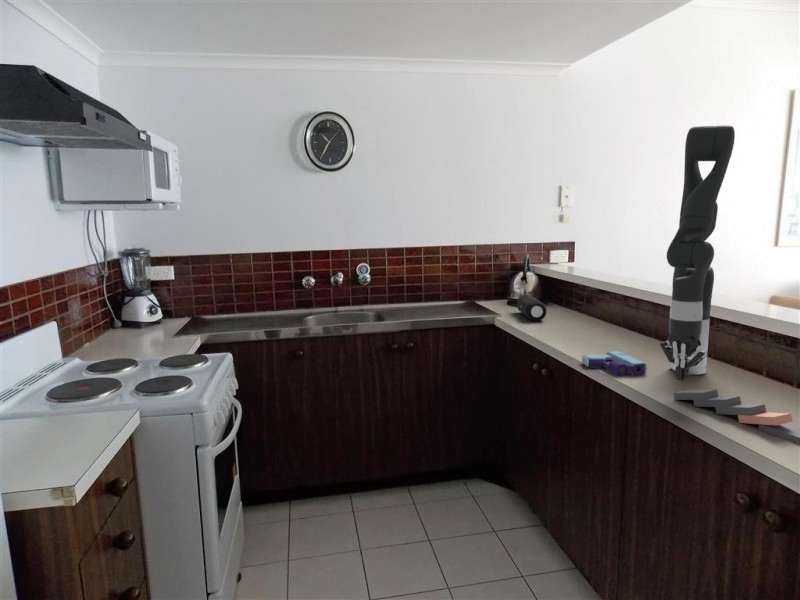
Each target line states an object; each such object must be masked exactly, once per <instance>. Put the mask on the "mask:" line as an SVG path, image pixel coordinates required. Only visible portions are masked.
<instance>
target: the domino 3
mask: <svg viewBox="0 0 800 600" xmlns="http://www.w3.org/2000/svg"><path fill="white" fill-rule="evenodd" d="M714 409H715V412H716V415H730V416H731V415H732V416H738V415H751V416H752V415H756V414H760V413H765V412H767V408H766V404H765V403H762V404H760V403H759V404H758V403H742V404H738V405H734V406H730V407H714Z"/></svg>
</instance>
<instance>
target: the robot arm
mask: <svg viewBox="0 0 800 600" xmlns="http://www.w3.org/2000/svg"><path fill="white" fill-rule="evenodd" d="M687 131H688V132H687V134H686V139H685V144H684V145H685V146H684V149H685V150H684V170H683V171H684V173H683V175H684V177H683V187H682V188H683V190H682V196H681V197H682V198H681V205H680V212H679V220H678V221H679V224H678V225H679V226H678V229H677V231H676V233H675V235H674V237H673V239H672V240H671V242H670V244H669V246H668V249H667V251H666V260H667V263H668V265H669V266H671V267H673V268H674V270H673V276H672V290H671V291H672V293H671V303H670V308H669V321H668V333H669V335H668V337H667V340H666V341H662V342H660V347H661V349H662V351H663V353H664V355H665V356H666V358H667V361H668V362H669V369H672V371H674V372H675V373H674V375H675V378H676V381H680V382H685V381H687V380H688V379H689V376H690V375H692V376H693V375H695V376H696V375H697V376H699V375H700V376H701V375H705V374H706V371H707V359H708V355H709V354H710V351H709V350H708V349H709V347H708V346H709V335H710V320H711V319H710V318H711V307H712V297H713V289H714V283H715V282H714V281H715V272H714V268H713V267H712V263H713V261H714V258H715V257H714V256H715V250H714V246H713V244H712V243H710V242H708V241H707V239H708V238H709V237H710V236H712V233H714V230H715V229H716V225H717V224H716V223H717V218H718V211H719V210H718V209H719V206H718V202H717V200H718V196H719V194H720V192H721V191H720V190H721V188H722V184H723V181H724V180H725V176H726V174H727V170H728V166H729V164H730V161H731V158H732V154H733V149H734V147H735V145H734V144H735V138H736V134H735V128H734V126H733V125H729V124H712V125H710V124H709V125H696V126H692V127H690V128H689V130H687ZM699 162H714V165H713V166H712V169H711V170H710V172H709V173H708V174H707V175H706V176H705V177H704V179H703V177H702V174H701V171H700V164H699Z"/></svg>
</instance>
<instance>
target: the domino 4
mask: <svg viewBox="0 0 800 600" xmlns="http://www.w3.org/2000/svg"><path fill="white" fill-rule="evenodd" d="M737 418H738V422H739V424H751V425H759V424H763V425H780V424H784V423H785V424H788V423H792V422H793V417H792V414H791V413H787V412H784V413H783V412H769V411H768V412H767V411H766V412H765V413H760V414H756V415H752V416H751V415H737Z"/></svg>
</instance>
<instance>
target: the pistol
mask: <svg viewBox="0 0 800 600" xmlns="http://www.w3.org/2000/svg"><path fill="white" fill-rule="evenodd" d="M581 358H582V359H581V363H582V364H584V366H586V367H587V368H602V367H603V368H604V369H606V370H607V371H608V372H609V373H611V374H612V375H614V374H615V376H617V377H620V376H619V375H621V376H626V375H631V376H636V375H638V376H639V375H640V374H644V375H643V376H645V375H646V374H647V370H648V366H647V364H646V362H645V361H642V360H639V359H638V358H635V357H633V356H630V355H628V354H627V353H624V352H621V351H619V350H614V351H607V352H606V354H605V355H603V354H602V355H601V354H586V355H582V356H581Z"/></svg>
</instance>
